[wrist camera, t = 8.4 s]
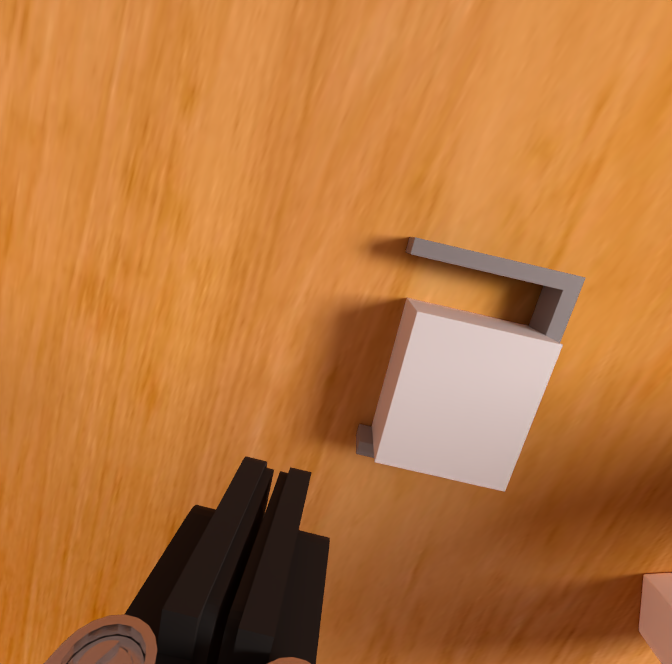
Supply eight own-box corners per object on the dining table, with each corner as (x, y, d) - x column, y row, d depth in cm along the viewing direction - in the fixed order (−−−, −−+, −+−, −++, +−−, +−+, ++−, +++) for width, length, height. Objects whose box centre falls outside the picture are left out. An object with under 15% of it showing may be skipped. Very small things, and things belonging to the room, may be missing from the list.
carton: (525, 324, 27) (562, 344, 22) (480, 448, 29) (504, 491, 24) (406, 297, 27) (417, 311, 22) (371, 424, 29) (374, 462, 24)
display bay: (563, 273, 25) (585, 277, 23) (490, 466, 29) (502, 487, 27) (409, 237, 25) (415, 237, 23) (356, 435, 29) (356, 453, 27)
